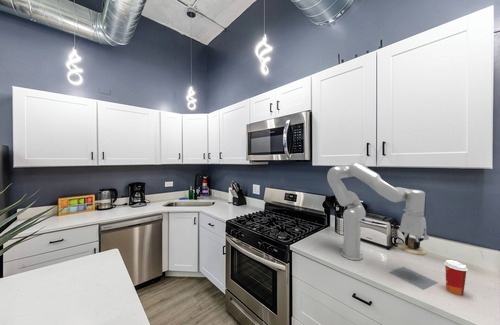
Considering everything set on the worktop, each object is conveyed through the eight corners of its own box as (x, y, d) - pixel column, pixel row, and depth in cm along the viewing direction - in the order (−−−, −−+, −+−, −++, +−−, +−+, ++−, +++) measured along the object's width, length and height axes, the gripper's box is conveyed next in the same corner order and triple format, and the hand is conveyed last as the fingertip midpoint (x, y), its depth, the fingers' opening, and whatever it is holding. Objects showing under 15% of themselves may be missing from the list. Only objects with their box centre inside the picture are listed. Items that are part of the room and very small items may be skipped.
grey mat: (388, 273, 111) (388, 272, 110) (403, 267, 116) (403, 266, 116) (423, 290, 96) (423, 289, 96) (438, 283, 102) (438, 282, 102)
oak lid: (392, 246, 109) (393, 236, 109) (405, 243, 114) (406, 232, 114) (418, 257, 98) (419, 245, 98) (431, 252, 103) (432, 241, 103)
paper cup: (453, 287, 99) (454, 259, 99) (471, 297, 91) (472, 268, 91) (438, 287, 99) (439, 259, 98) (455, 298, 91) (456, 268, 91)
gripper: (393, 209, 111) (391, 241, 112) (429, 218, 96) (427, 255, 97) (401, 208, 114) (399, 239, 115) (437, 217, 99) (435, 252, 100)
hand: (411, 246), depth 106 cm, fingers closed on oak lid, 3 cm apart
